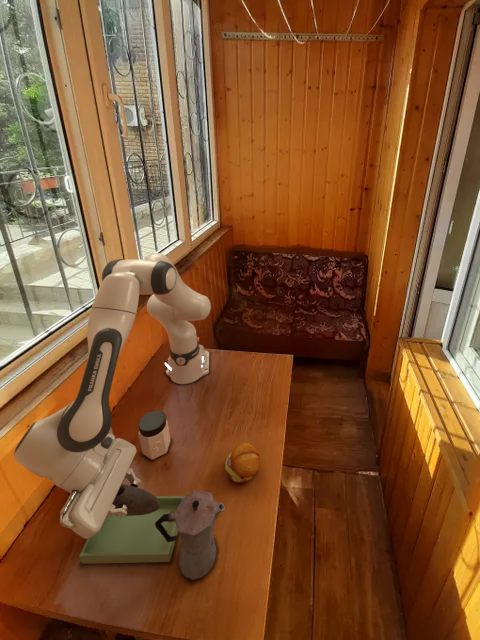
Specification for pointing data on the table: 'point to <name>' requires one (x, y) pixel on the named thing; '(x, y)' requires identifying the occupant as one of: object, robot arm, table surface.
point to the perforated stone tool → (136, 500)
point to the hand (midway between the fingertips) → (132, 498)
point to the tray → (133, 537)
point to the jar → (154, 434)
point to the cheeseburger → (242, 463)
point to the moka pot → (194, 532)
